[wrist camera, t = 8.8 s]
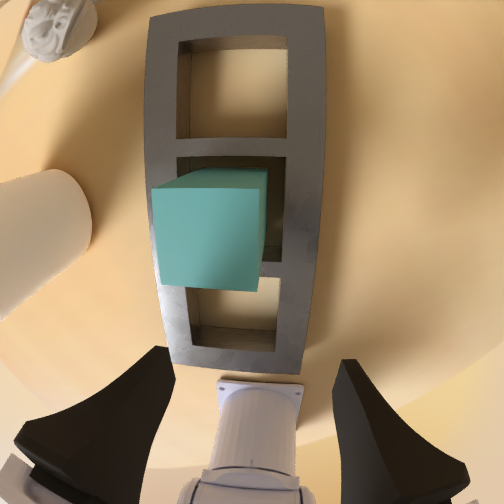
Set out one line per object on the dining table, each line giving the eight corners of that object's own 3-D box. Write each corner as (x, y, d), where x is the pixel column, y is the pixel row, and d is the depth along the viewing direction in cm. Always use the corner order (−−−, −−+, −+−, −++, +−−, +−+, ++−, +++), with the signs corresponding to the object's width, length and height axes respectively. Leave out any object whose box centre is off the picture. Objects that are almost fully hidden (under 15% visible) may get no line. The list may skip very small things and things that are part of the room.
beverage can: (31, 167, 18) (-78, 205, 7) (96, 168, 18) (-40, 215, 7) (37, 251, 21) (-50, 314, 10) (100, 267, 21) (3, 357, 10)
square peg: (266, 229, 18) (256, 291, 11) (206, 227, 19) (161, 284, 11) (268, 168, 17) (259, 188, 10) (204, 167, 17) (151, 188, 10)
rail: (298, 353, 22) (299, 374, 20) (180, 343, 23) (171, 362, 21) (318, 22, 13) (323, 7, 10) (164, 29, 14) (150, 17, 11)
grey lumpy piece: (104, 71, 15) (38, 56, 8) (47, 66, 15) (-13, 60, 8) (135, 2, 13) (84, -35, 6) (73, 5, 12) (21, -16, 6)
